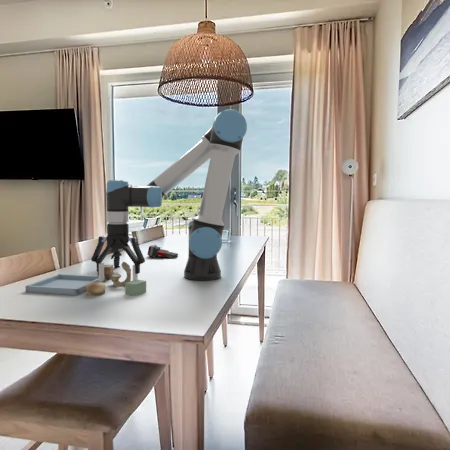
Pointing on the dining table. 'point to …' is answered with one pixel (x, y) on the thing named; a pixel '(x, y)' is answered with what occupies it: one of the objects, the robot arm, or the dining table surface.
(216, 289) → the dining table surface
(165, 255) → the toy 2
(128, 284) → the green painted block
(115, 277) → the beige curved figurine
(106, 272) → the walnut cube
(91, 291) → the oak disc
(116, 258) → the toy
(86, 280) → the tray
